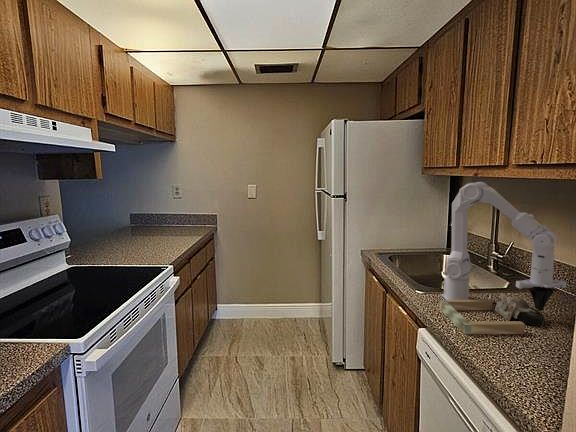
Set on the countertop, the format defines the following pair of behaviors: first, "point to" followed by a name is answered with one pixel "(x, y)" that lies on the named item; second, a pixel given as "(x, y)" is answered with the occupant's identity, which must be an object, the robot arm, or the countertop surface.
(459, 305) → the frame
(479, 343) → the countertop surface
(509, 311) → the caster wheel
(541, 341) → the countertop surface
